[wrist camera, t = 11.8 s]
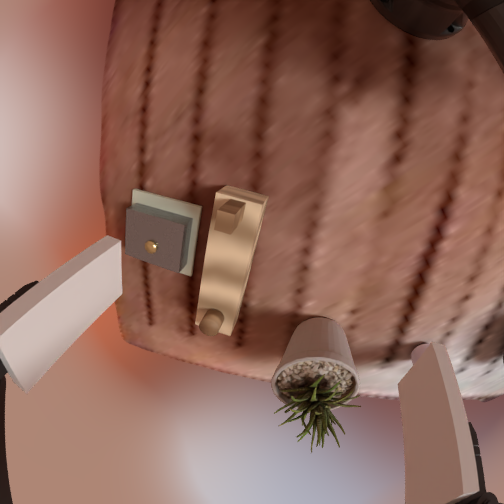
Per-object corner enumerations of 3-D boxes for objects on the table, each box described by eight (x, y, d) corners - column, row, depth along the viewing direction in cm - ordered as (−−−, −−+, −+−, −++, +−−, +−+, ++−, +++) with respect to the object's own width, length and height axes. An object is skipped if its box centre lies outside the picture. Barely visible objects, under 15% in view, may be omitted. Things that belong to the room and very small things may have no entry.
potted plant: (266, 346, 50) (238, 440, 32) (308, 293, 44) (295, 397, 26) (323, 373, 50) (315, 466, 32) (370, 327, 44) (383, 429, 26)
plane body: (226, 185, 39) (200, 202, 31) (268, 196, 39) (253, 217, 30) (204, 308, 49) (183, 343, 41) (237, 319, 49) (220, 357, 40)
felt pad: (134, 188, 43) (132, 189, 42) (202, 206, 42) (200, 207, 41) (131, 253, 48) (130, 255, 48) (192, 274, 47) (190, 276, 46)
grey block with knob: (137, 202, 43) (124, 208, 40) (192, 218, 42) (183, 226, 39) (134, 246, 47) (124, 255, 44) (186, 264, 46) (177, 274, 43)
